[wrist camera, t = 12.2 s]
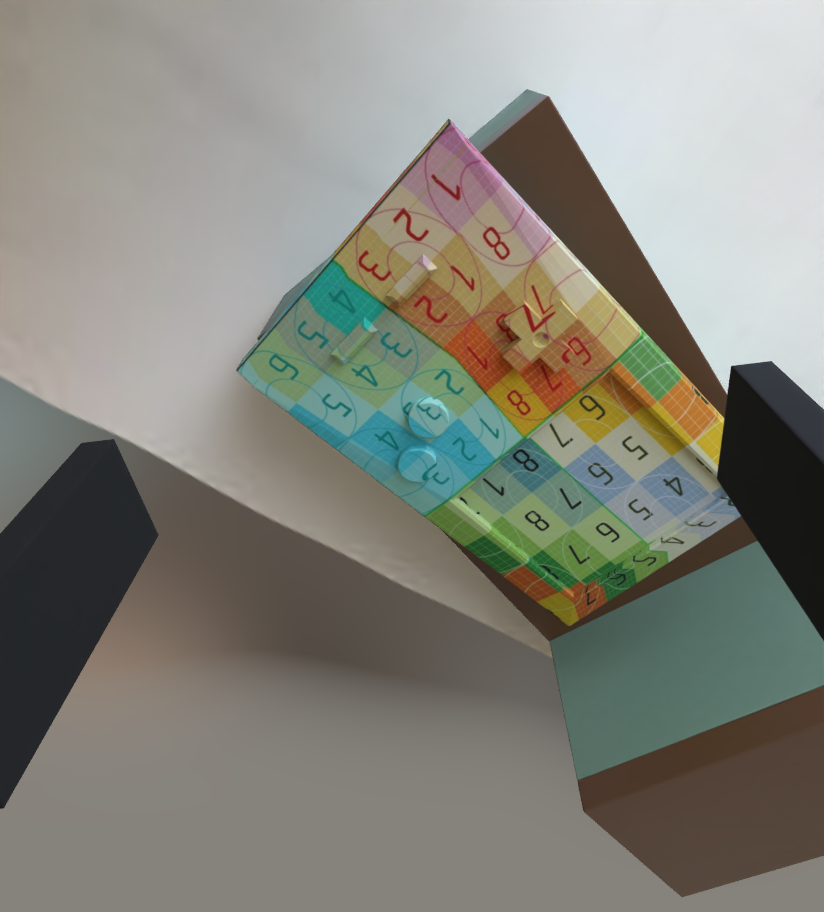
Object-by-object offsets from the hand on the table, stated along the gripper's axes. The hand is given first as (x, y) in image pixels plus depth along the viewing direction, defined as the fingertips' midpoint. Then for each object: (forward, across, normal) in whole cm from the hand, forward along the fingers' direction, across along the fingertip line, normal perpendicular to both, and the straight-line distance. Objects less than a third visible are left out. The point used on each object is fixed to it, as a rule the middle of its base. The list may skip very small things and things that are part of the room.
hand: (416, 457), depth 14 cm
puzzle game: (+15, +3, -6) cm, 16 cm away
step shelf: (+20, +7, -13) cm, 25 cm away
